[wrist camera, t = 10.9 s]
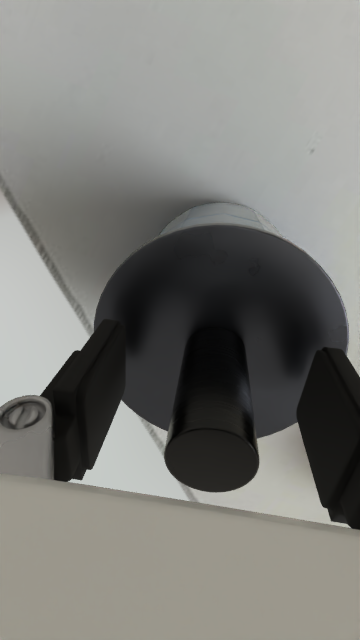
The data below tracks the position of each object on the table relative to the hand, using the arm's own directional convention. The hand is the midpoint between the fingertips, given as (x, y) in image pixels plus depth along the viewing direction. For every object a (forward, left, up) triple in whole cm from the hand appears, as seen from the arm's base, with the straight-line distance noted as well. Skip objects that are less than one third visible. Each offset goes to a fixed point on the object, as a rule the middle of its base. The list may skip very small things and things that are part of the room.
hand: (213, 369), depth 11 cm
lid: (0, 0, -2) cm, 2 cm away
